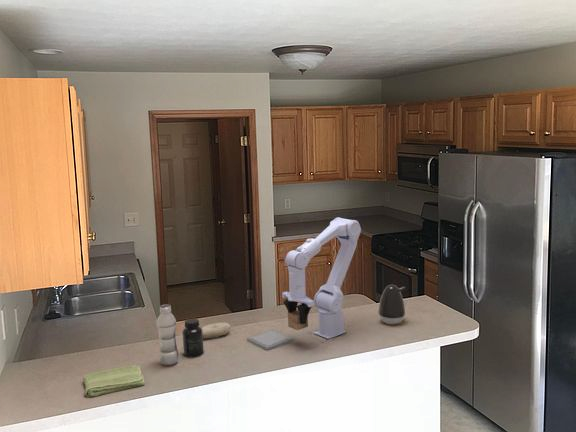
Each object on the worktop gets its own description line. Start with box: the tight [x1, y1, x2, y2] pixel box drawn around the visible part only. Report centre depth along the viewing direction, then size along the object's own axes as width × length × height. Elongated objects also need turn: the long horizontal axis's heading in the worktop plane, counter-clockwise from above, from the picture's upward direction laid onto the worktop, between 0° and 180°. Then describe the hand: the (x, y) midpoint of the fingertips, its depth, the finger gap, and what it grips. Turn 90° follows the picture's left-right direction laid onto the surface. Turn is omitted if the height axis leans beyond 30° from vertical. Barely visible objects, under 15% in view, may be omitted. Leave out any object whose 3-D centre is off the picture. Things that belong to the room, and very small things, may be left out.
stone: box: [201, 322, 232, 339], centre depth 203 cm, size 6×6×12 cm
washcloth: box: [82, 364, 145, 398], centre depth 168 cm, size 13×18×3 cm
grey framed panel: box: [246, 329, 294, 351], centre depth 197 cm, size 12×12×1 cm
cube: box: [287, 309, 309, 331], centre depth 192 cm, size 5×5×5 cm
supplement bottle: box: [182, 318, 205, 358], centre depth 187 cm, size 7×7×12 cm
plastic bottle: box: [156, 303, 180, 366], centre depth 180 cm, size 6×7×20 cm
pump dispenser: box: [378, 284, 406, 325], centre depth 211 cm, size 10×10×15 cm
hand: (298, 321), depth 192 cm, fingers closed on cube, 5 cm apart
